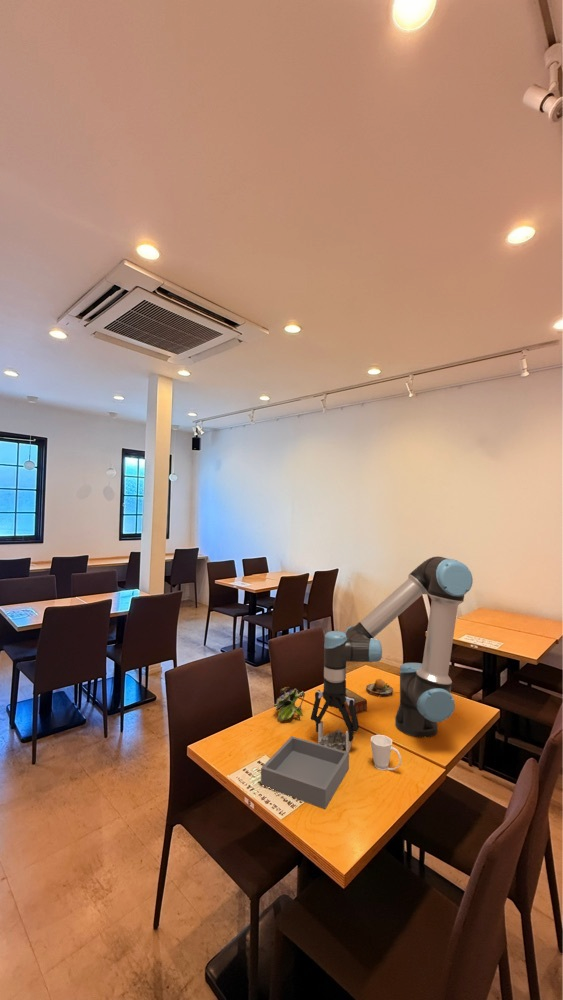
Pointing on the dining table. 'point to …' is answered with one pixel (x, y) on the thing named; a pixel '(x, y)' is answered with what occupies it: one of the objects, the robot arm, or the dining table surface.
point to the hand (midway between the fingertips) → (334, 746)
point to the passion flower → (288, 703)
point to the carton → (356, 702)
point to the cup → (382, 752)
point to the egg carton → (334, 740)
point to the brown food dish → (379, 689)
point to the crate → (306, 771)
